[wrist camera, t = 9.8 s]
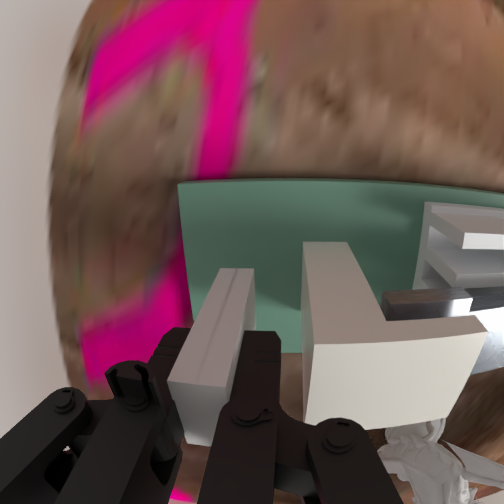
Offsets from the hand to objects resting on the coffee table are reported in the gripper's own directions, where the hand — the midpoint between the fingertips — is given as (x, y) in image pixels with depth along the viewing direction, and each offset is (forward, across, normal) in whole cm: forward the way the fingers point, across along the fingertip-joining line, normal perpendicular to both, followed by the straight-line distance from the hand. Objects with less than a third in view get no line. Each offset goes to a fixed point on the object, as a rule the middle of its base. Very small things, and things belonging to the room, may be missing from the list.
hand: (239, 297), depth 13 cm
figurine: (+3, +13, -12) cm, 18 cm away
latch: (+2, +5, 0) cm, 5 cm away
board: (+3, +8, 0) cm, 9 cm away
